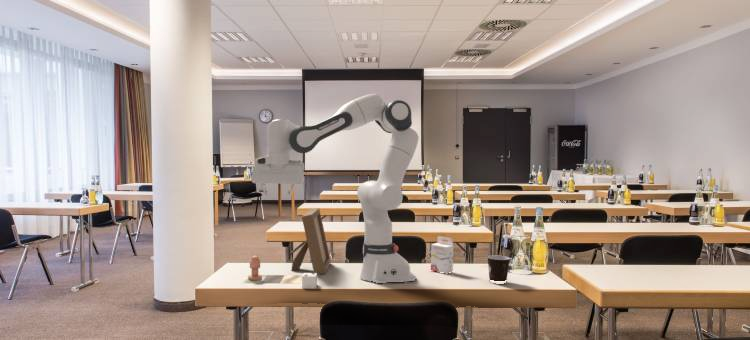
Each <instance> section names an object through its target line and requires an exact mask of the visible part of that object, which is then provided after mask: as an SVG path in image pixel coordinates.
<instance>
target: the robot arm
mask: <svg viewBox="0 0 750 340" xmlns="http://www.w3.org/2000/svg"><path fill="white" fill-rule="evenodd" d="M373 121H375V122H374V123H376V124H377V125H378V126H379V127H380V129H382V130H383V131H384V132H386V133H387V134H391V139H390V140H389V141H390V142H389V143H388V145H387V147H386V149H385V151H384V154H383V155H382V158H381V159H380V161H379V168H380V169H379V174H378V178H377V180H367V181H364V182H362V183H361V184H360V185H359V186H358V188H357V199H358V200H359V202H360V204H361V205H360V206H361V209H362V210H361V211H362V214H363V221H364V241H363V244H362V256H363V261H362V268H361V272H360V275H359V278H360V279H361V280H363V281H366V280H367V281H366V282H371V281H373V282H372V283H374V282H376V283H375V284H377V283H383V284H387V283H386V282H401V281H414V280H415V279H416V280H417V278H416V274H415V273H413V272H412V271H411V266H410V264H409V261H407V260H406V259H405V258H404V257H403V256H402V255H400V254H399V253H398V251H399V248H400V247H399V246H398V245H397V244H395V243H393V223H392V220H391V219H390V217H389V214H388V213H389V212H388V211H392V210H396V209H398V207H400V205H402V202H403V192H402V187H403V182H404V177H405V175H406V172H407V170H408V167H409V165H410V163H411V161H412V159H413V157H414V155H415V152H416V149H417V146H418V143H419V135H418V133H417V132H416V131H415V130H414V129H413V128H411V127H412V124H413V122H412V121H413V119H412V110H411V106H410V105H409V104H408V103H407V102H406V101H404V100H401V99H397V100H396V99H395V100H393V101H391V102H390V103H386V102H385V101H384V100H383V98H382V97H381V95H379V94H377V93H369V94H365V95H363V96H359V97H357V98H354V99H352V100H350V101H348V102H346V103H345V104H343V105H342V106H341V107H339V109H338V110H337V111H336V112H335V113H334V115H332V116H331V117H329V118H327V119H324V120H322V121H319V122H318V123H316V124H312V125H307V126H306V125H301V126H300V125H297V124H296V123H293V122H292V121H290V120H289V119H288V118H278V119H273V120H271V121H269V123H268V125H267V131H266V132H267V133H266V143H267V150H266V156H265V155H262V156H261V157H257V158H255V159H254V166H253V167H252V170H251V171H252V172H251V177H250V178H251V182H252V183H253V184H260V188H261V189H262V191H263V193H262V194H263V196H268V195H269V189H267V190H266V187H265V186H266V184H270V185H271V184H277V185H278V184H279V185H280V184H283V185H287V184H288V185H290V187H291V188H290V190H287V196H292V195H293V190H294V189H295V187H296V185H302V184H303V183H304V181H305V175H304V174H305V173H304V172H305V167H306V166H305V165H306V164H305V163H304V162H303V161H302V160H295V159H294V160H293V159H292V160H291V157H290V155H291V153H290V151H291V150H293V151H295V152H296V153H299V154H307V153H310V152H311V151H312V150H313V149H315V148H316V146H317V145H318V144H319V143H320V142H321V141H323V140H325V139H327V138H329V137H331V136H333V135H334V134H337V133H339V132H342V131H350V130H354V129H357V128H360V127H362V126H365V125H367V124H369V123H371V122H373ZM416 280H415V281H416ZM415 281H414V282H415Z"/></svg>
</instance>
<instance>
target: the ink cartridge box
mask: <svg viewBox="0 0 750 340" xmlns="http://www.w3.org/2000/svg"><path fill="white" fill-rule="evenodd" d="M436 240H437V242H436V243H431V246H430V247H431V249H430V250H431V251H430V253H431V254H430V271H431V270H433V271H432V272H434V271H438V272H444V273H449V272H452V271H453V272H454V239H453V238H452V237H451V238H450V237H446V236H440V235H438V236H437V239H436ZM445 240H446V241H445ZM438 272H437V273H438ZM453 272H452V273H453ZM449 274H450V273H449Z"/></svg>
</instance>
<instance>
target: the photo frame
mask: <svg viewBox="0 0 750 340" xmlns="http://www.w3.org/2000/svg"><path fill="white" fill-rule="evenodd" d="M301 219H302V225H303V229H304V233H305V234H304V235H305V239H306V240H305V242H304V243H303V245H302V246H301V248H300V250H298V252H297V254H296V255H295V257H294V258H293V260H292V262H291V263H292V264H291V272H294V271H297V270H300V269H301V266H302V264H303V261H304V258H305V257H306V254H307V251H309V255H310V256H309V257H310V260H311V265H312V270H313V273H317V275H324V274H326V272H327V271H328V268H329V267H330V264H331V263H332V261H331V257H330V251H329V247H328V246H329V245H328V242H327V239H326V232H325V228H324V224H323V223H324V222H323V219H322V215H321V210H320V208H314V209H310V210H308V211H307V212H306V213H304V214H303V215H302V216H301Z"/></svg>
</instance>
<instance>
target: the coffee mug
mask: <svg viewBox="0 0 750 340" xmlns="http://www.w3.org/2000/svg"><path fill="white" fill-rule="evenodd" d="M510 260H511V259H510V257H509V256H506V255H501V254H500V255H497V254H492V255H487V267H488V277H489V279H490V280H494V281H505V280H508V274H509V273H508V272H509V269H510V268H509V267H510ZM490 280H489V281H490Z"/></svg>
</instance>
